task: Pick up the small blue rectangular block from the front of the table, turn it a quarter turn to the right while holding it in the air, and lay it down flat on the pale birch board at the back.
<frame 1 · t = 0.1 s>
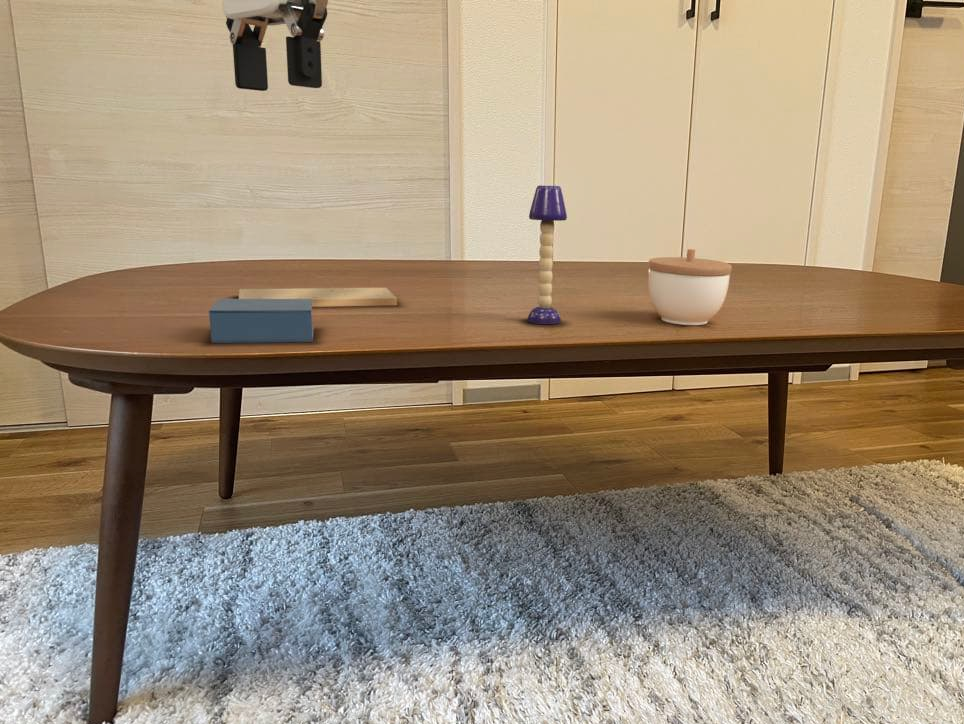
hand: (277, 88, 74), 25 cm above the table, tool pointing down, fingers open, 9 cm apart
trinket box: (684, 322, 104), on the table
blue rectangular block: (265, 335, 84), on the table
toy lamp: (543, 322, 99), on the table
birch board: (317, 300, 106), on the table
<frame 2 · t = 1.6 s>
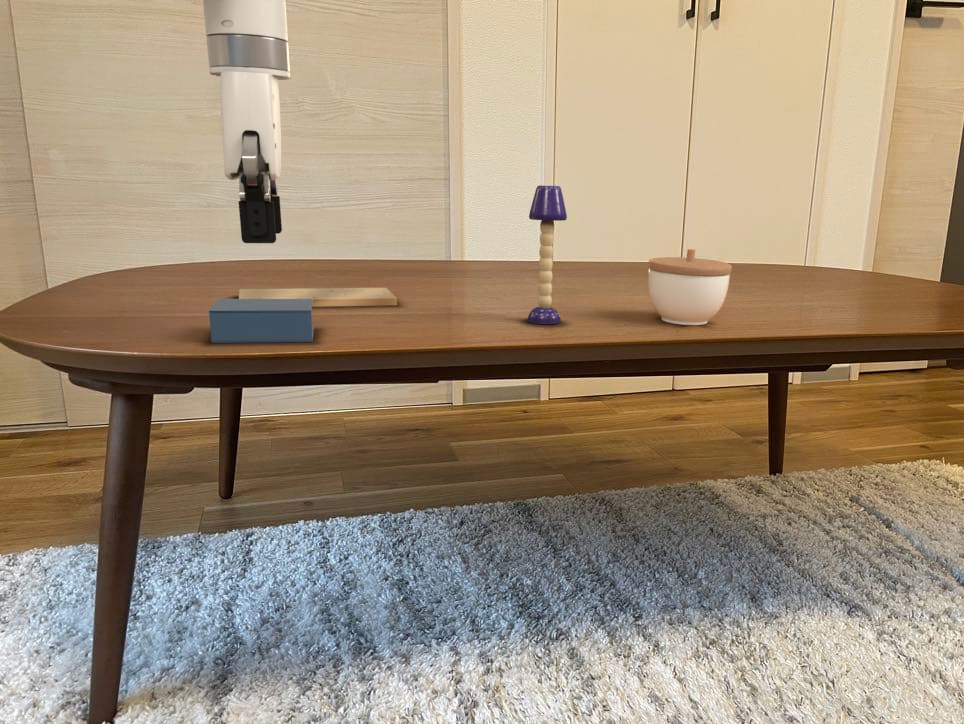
hand: (263, 237, 81), 10 cm above the table, tool pointing down, fingers open, 9 cm apart
nothing on the table moved.
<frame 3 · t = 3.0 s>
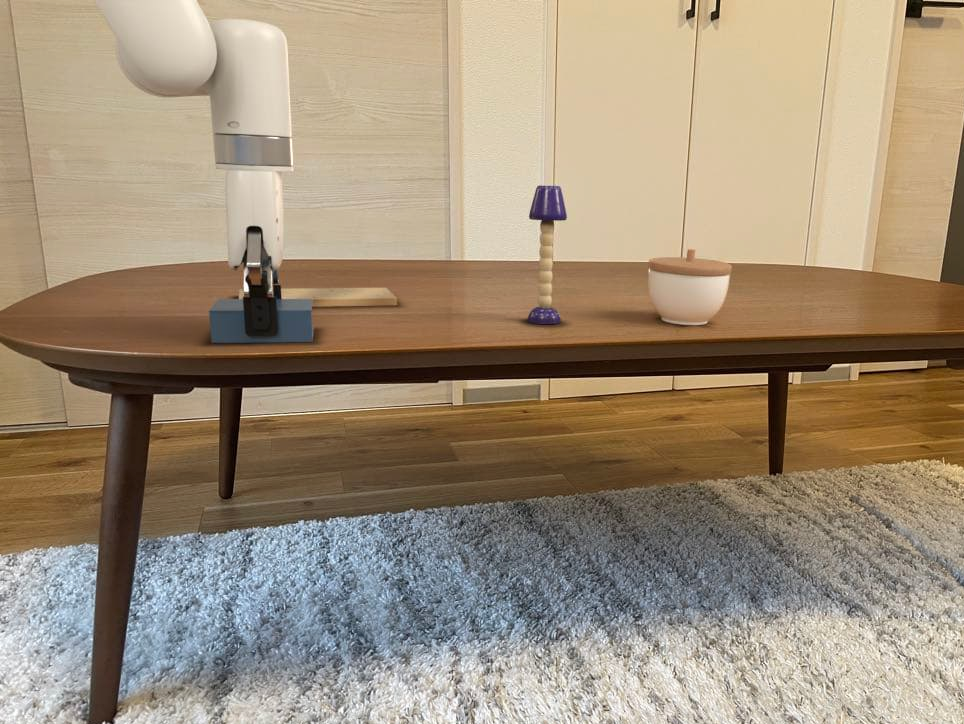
hand: (265, 326, 84), 1 cm above the table, tool pointing down, fingers closed on blue rectangular block, 7 cm apart
blue rectangular block: (265, 335, 84), on the table, touching gripper
everything else where it was.
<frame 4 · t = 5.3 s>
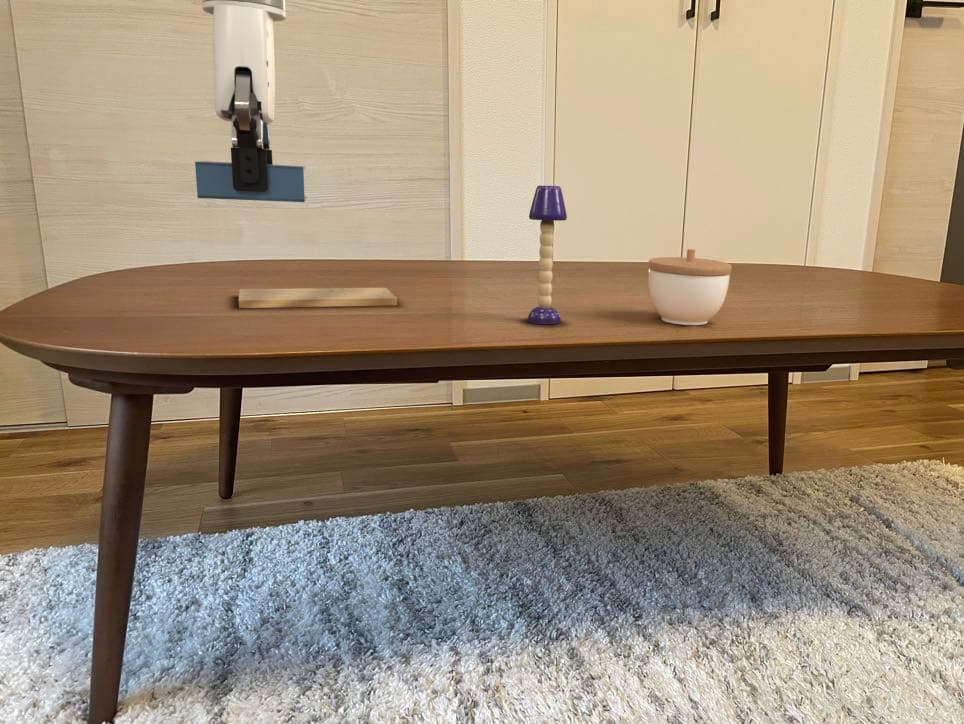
hand: (254, 188, 80), 15 cm above the table, tool pointing down, fingers closed on blue rectangular block, 7 cm apart
blue rectangular block: (255, 198, 80), point 14 cm above the table, touching gripper
everything else where it was.
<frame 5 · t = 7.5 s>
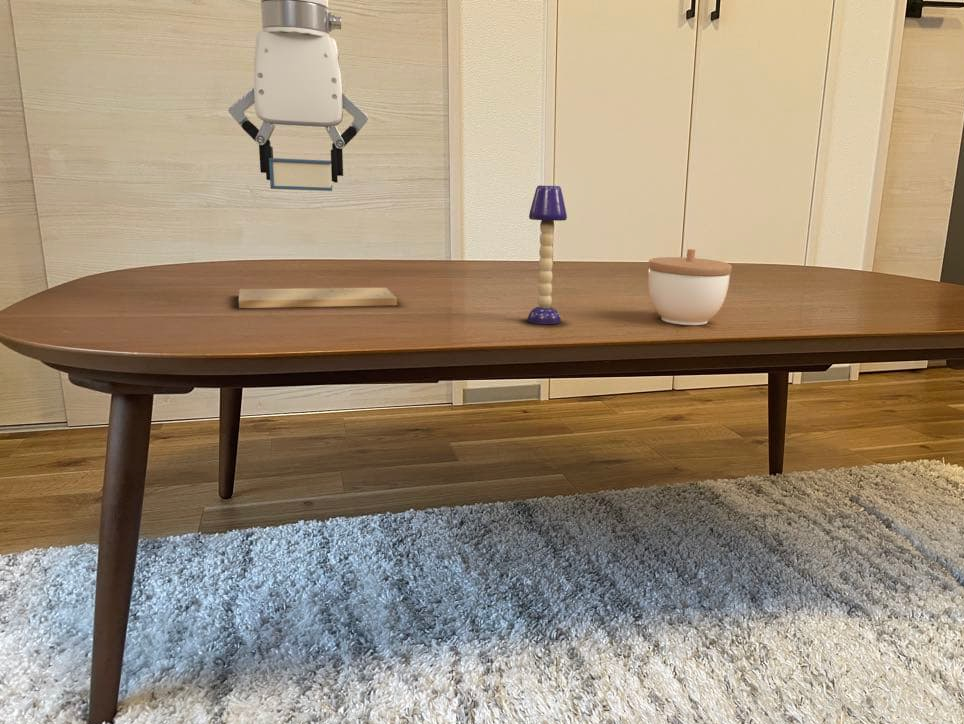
hand: (302, 179, 96), 16 cm above the table, tool pointing down, fingers closed on blue rectangular block, 7 cm apart
blue rectangular block: (303, 188, 97), point 15 cm above the table, touching gripper
everything else where it was.
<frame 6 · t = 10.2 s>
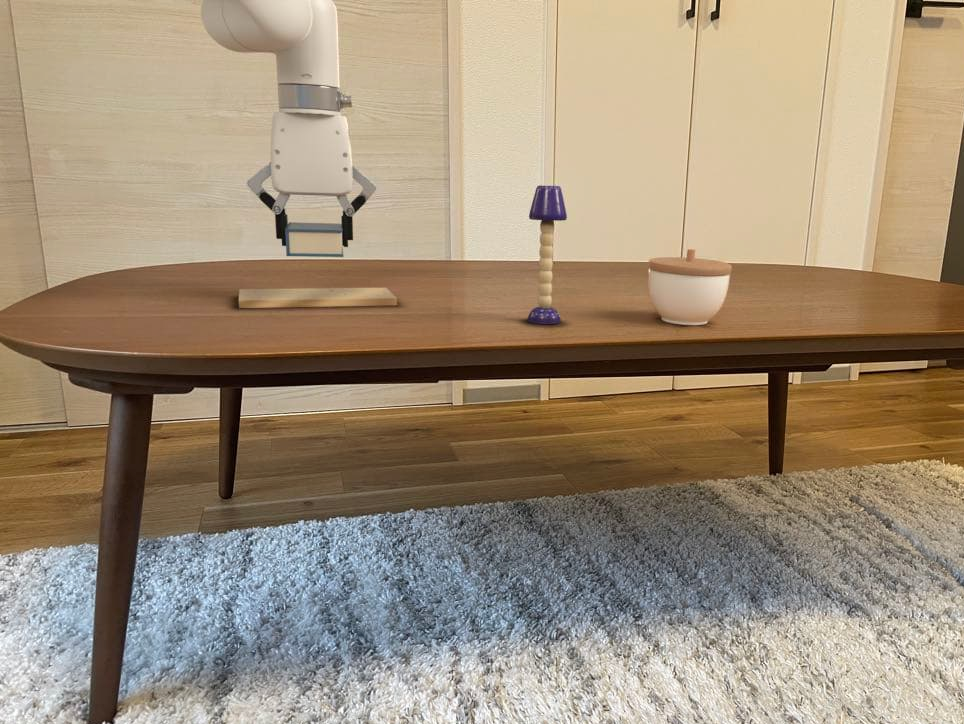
hand: (315, 244, 103), 8 cm above the table, tool pointing down, fingers closed on blue rectangular block, 7 cm apart
blue rectangular block: (315, 252, 104), point 7 cm above the table, touching gripper
everything else where it was.
when the fingers open (2 cm above the table, at t = 12.3 s): blue rectangular block stays where it is, resting on birch board.
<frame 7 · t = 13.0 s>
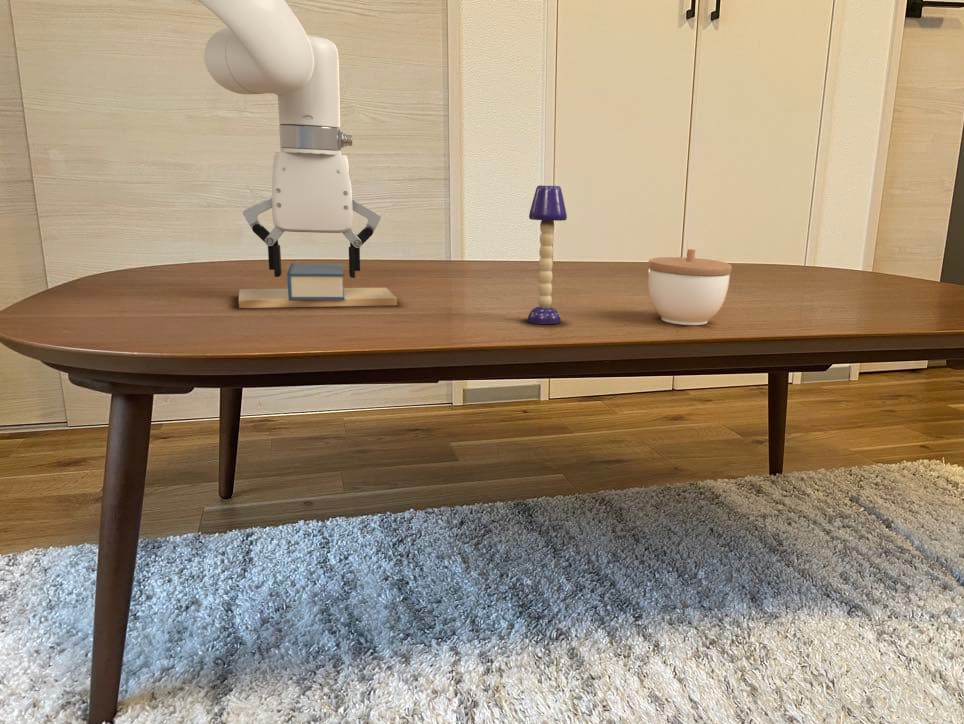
hand: (315, 276, 104), 3 cm above the table, tool pointing down, fingers open, 9 cm apart
blue rectangular block: (317, 293, 105), point 1 cm above the table, touching birch board
everything else where it was.
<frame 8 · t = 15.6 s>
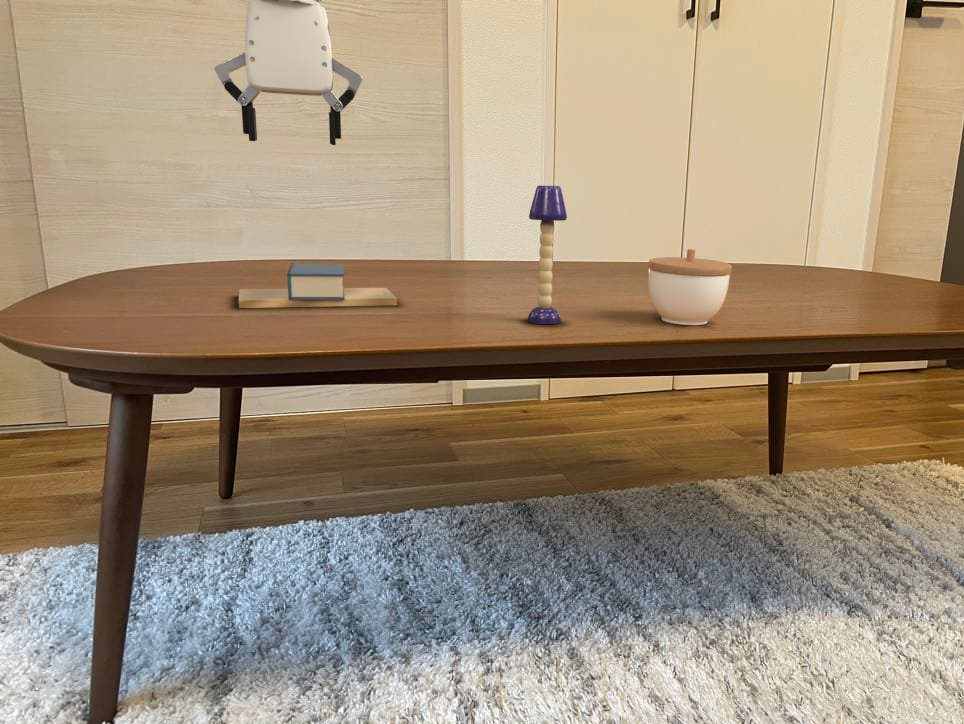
hand: (293, 142, 98), 20 cm above the table, tool pointing down, fingers open, 9 cm apart
nothing on the table moved.
at the end: blue rectangular block inside the target area on the birch board (0.1 cm from its centre), point 1.0 cm above the birch board's base; blue rectangular block tilted 0°; the gripper is holding nothing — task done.
